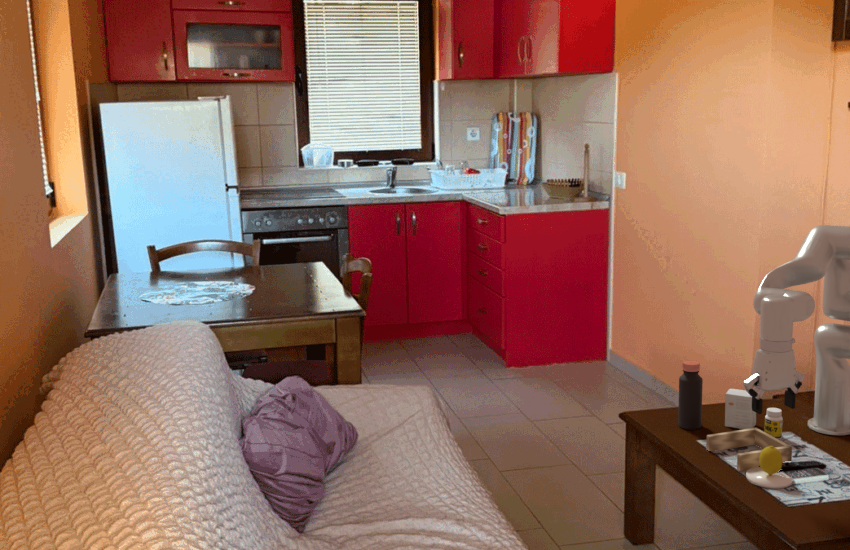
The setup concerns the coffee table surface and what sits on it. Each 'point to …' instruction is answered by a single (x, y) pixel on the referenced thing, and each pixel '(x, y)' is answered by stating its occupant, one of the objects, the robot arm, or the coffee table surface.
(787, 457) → the pine box
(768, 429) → the supplement bottle
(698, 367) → the vinegar
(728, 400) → the small box
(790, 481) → the saucer
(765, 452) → the lemon
